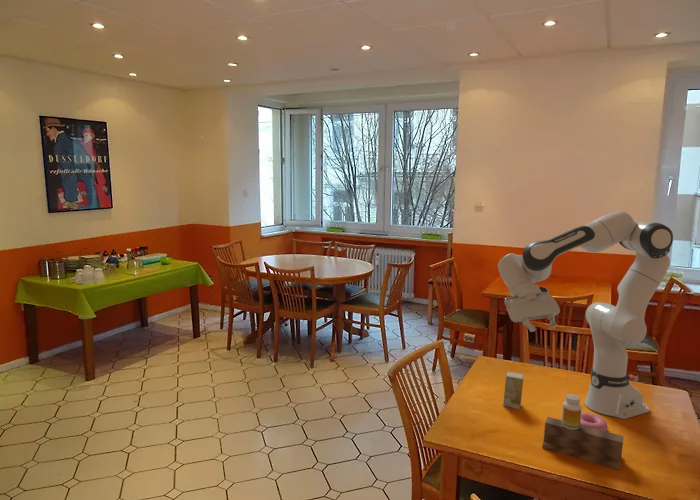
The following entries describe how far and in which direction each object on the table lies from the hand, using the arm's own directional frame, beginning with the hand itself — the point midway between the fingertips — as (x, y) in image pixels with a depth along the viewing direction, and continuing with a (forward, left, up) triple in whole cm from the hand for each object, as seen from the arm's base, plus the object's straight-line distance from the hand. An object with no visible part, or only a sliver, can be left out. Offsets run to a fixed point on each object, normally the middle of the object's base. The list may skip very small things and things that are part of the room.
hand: (544, 329), depth 167 cm
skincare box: (+1, -14, -35) cm, 37 cm away
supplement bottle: (0, +17, -27) cm, 32 cm away
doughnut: (-16, +7, -35) cm, 39 cm away
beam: (-3, +19, -35) cm, 40 cm away
